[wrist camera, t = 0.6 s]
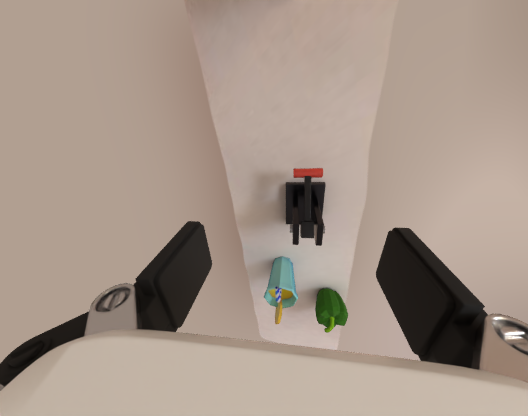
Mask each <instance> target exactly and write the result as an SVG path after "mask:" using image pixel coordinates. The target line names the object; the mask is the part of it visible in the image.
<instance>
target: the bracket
mask: <svg viewBox="0 0 528 416" xmlns="http://www.w3.org/2000/svg"><path fill="white" fill-rule="evenodd" d="M324 193H325V182H311V221H313V222H314V237H315V243H316V245H320V246H321V245H322V238H323V234H324V233H325V226H324V223H323V219H322V212H323V203H324ZM301 221H304V182H286V224H293V225H290V233H293V245H298V243H299V224H300V225H301Z"/></svg>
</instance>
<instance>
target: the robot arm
mask: <svg viewBox="0 0 528 416" xmlns="http://www.w3.org/2000/svg"><path fill="white" fill-rule="evenodd" d="M211 266H212V260H211V256H210V251H209V247H208V243H207V238H206V234H205V230H204V226H203V225H202V224H201V223H200V222H193V221H192V222H191V221H189V222H187V223H186V224H185V225H184V226H183V227H182V228H181V230H180V231H179V232H178V233H177V234H176V235H175V236H174V237H173V238H172V239H171V240H170V242H169V243H168V244H167V245H166V246H165V247H164V248H163V249H162V250H161V251H160V253H159V254H158V255H157V256H156V257H155V258H154V259H153V260H152V261H151V262H150V263H149V265H148V266H147V267H146V268H145V269H144V270H143V271H142V272H141V273H140V275H139V276H138V277H137V278H136V281H137V282H136V283H135V284H134V285H132V284H128V283H124V284H119V285H115V286H113V287H111V288H109V289H107V290H106V291H104V292H103V293H101V294H100V295H99V296H98V297H97V298H96V299H95V300H94V301H93V303H92V305H91V307H90V310H89V312H87V313H85V314H82V315H80V316H78V317H76V318H74V319H72V320H70V321H68V322H65V323H64V324H61V325H59V326H57V327H55V328H53V329H51V330H48V331H46V332H44V333H42V334H40V335H38V336H36V337H34V338H32V339H30V340H28V341H26V342H25V343H23V344H22V345H20V346H19V347H17V348H16V349H15V350H14V351H12V352H11V353H10V354H9V355H8V356H7V357H6V358H5V359H4V360H3V362H2V363H1V364H0V416H528V324H526V323H524V322H522V321H520V320H518V319H515V318H513V317H510V316H506V315H502V314H490V315H488V314H487V313H486V312H485V311H484V310H483V308H484V307H485V306H484V305H483V304H482V303H481V302H480V301H479V300H478V299H477V298H476V297H475V296H474V295H473V294H472V293H471V292H470V291H469V289H468V288H467V287H466V286H465V285H464V284H463V283H462V282H461V281H460V280H459V279H458V278H457V277H456V276H455V275H454V274H453V273H452V272H451V271H450V270H449V269H448V268H447V267H446V266H445V265H444V264H443V262H442V261H441V260H440V259H439V258H438V257H437V256H436V255H435V254H434V253H433V252H432V251H431V250H430V249H429V248H428V247H427V246H426V245H425V244H424V243H423V242H422V241H421V240H420V239H419V238H418V237H417V235H415V233H413V231H412V230H411V229H409V228H394V229H393V230H392V231H389V232H388V235H387V238H386V242H385V245H384V248H383V251H382V255H381V258H380V261H379V265H378V268H377V271H376V277H377V280H378V282H379V284H380V286H381V288H382V290H383V292H384V294H385V296H386V299H387V300H388V303H389V304H390V307H391V309H392V311H393V313H394V315H395V317H396V319H397V321H398V323H399V325H400V327H401V329H402V331H403V333H404V335H405V337H406V339H407V341H408V343H409V345H410V347H411V349H412V351H413V352H414V353H415V354H417V355H418V356H419V358H420V360H421V361H418V360H410V359H403V358H394V357H386V356H378V355H369V354H362V353H354V352H345V351H337V350H329V349H321V348H312V347H304V346H295V345H287V344H278V343H269V342H261V341H252V340H243V339H234V338H225V337H216V336H207V335H198V334H189V333H179V332H176V331H177V329H178V328H179V327H181V326H182V324H183V322H184V321H185V319H186V317H187V315H188V313H189V311H190V309H191V307H192V305H193V303H194V301H195V299H196V297H197V295H198V293H199V291H200V289H201V287H202V285H203V283H204V281H205V279H206V277H207V275H208V273H209V271H210V269H211Z"/></svg>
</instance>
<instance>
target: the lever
mask: <svg viewBox="0 0 528 416" xmlns="http://www.w3.org/2000/svg"><path fill="white" fill-rule="evenodd" d="M322 176H323V169H322V168H313V169H294V178H304V221H301V227H300V236H301V238H314V222H313V221H311V177H322Z"/></svg>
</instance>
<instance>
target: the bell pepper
mask: <svg viewBox="0 0 528 416" xmlns="http://www.w3.org/2000/svg"><path fill="white" fill-rule="evenodd" d="M315 310H316V317H317V321H318V323H319V324H323V325H324V326H326V327H327V328H325V332H330V331H331V330H332V329H333V327H335V326H336V325H343V326H344V325H345V323H346V321H347V318H348V313H347V309H346V306H345V304H344V302H343V300H342V298H341V296H340V295H339V294H338V293H337V292H336V291H333V290H331V289H329V288H325V289H322V290H320V291H319V293H318V295H317V300H316V308H315Z"/></svg>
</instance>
